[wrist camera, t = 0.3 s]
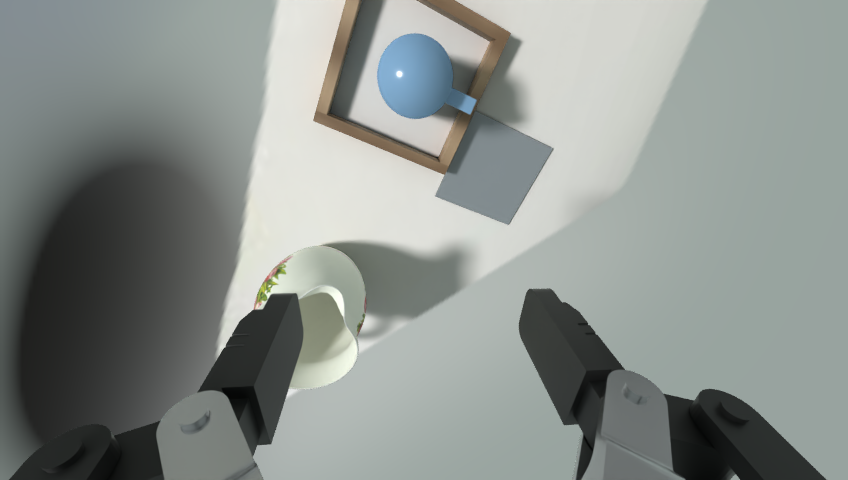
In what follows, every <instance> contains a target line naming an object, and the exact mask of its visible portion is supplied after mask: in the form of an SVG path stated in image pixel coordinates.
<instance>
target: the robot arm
mask: <svg viewBox="0 0 848 480" xmlns="http://www.w3.org/2000/svg"><path fill="white" fill-rule="evenodd" d="M519 332H520V336H521V339H522V341H523V343H524V345H525V347H526V350H527V352H528V353H529V355H530V358H531V359H532V362H533V364H534V366H535V368H536V370H537V371H538V373H539V376H540V378H541V380H542V382H543V384H544V386H545V388H546V389H547V392H548V394H549V396H550V398H551V400H552V402H553V404H554V406H555V408H556V410H557V412H558V414H559V416H560V418H561V420H562V422H563V424H564V425H574V424H579V426H580V428H581V430H582V434H581V436H580V439H579V445H578V451H577V456H576V462H575V468H574V474H573V480H730V479H731V478H732V477H733V476H734V475H735V474H736V475H737V476H738V477H739V478H740V480H826V479H825V478H824V477H823V476H822V475H821V474H820V473H819V472H818V471H817V470H816V469H815V468H814V467H813V466H812V465H811V464H810V463H809V462H808V461H807V460H806V459H805V458H803V456H801V454H799V453H798V452H797V451H796V450H795V449H794V448H793V447H792V446H791V445H790V444H789V443H788V442H787V441H786V440H785V439H784V438H783V437H782V436H781V435H780V434H779V433H778V432H777V431H776V430H775V429H774V428H773V427H772V426H771V425H770V424H769V423H768V422H767V421H766V420H765V419H764V418H763V417H762V416H761V415H760V414H759V413H758V412H756V411H755V410H754V409H753V408H752V407H750V406H749V405H748V404H746V403H745V402H743V401H742V400H740V399H738V398H737V397H735V396H732V395H731V394H728V393H726V392H723V391H719V390H715V389H705V390H702V391H701V392H700V393H699V395H698V396H697V397H696V399H695V400H694V401H693V400H689V399H684V398H680V397H675V396H671V395H666V394H663V393H662V392H661V390H660V389H659V388H658V387H657V386H656V385H655V384H654V383H652V382H651V381H650V380H648V379H647V378H645V377H643V376H642V375H640V374H637V373H635V372H632V371H627V370H625V369H624V368H623V367H622V365H621V364H620V363H619V362H618V361H617V359H616V358H615V357H614V356H613V354H612V353H611V352H610V350H609V349H608V348H607V346H606V345H605V344H604V343H603V342H602V340H601V339H600V338H599V336H598V335H596V334H595V331H594V330H593V329H592V328H591V326H590V325H588V323H587V321H586V320H585V319H584V318H583V316H582V315H581V314H580V312H578V311H577V310H576V309H574V308H573V307H572V306H570V305H569V304H567V303H565V302H563V303H562V302H561V301H560V300H559V298H558V297H557V295H556V294H555V293H554V292H553V290H551V289H529V290H528V291H527V293H526V296H525V301H524V304H523V308H522V313H521V317H520V321H519ZM303 334H304V332H303V323H302V317H301V311H300V305H299V299H298V295H297V294H296V293H273V294H271V295H270V297H269V298H268V300H267V302H266V304H265V306H264V308H263V309H255V310H252V311H251V312H250V313H249V314H248V315H247V316H245V317H244V318H243V319H242V320H241V321H240V322H239V324H238V325H237V327H236V329H235V330H234V332H233V334H232V337H230V339H229V340H228V342H227V344H226V348H224V349H223V350H222V352H221V354H220V356H219V357H218V359H217V361H216V362H215V364H214V366H213V367H212V369H211V371H210V372H209V374H208V376H207V377H206V379H205V381H204V383H203V384H202V386H201V387H200V389H199V391H198V392H197V393H196V394H193V395H191V396H188V397H187V398H185V399H183V400H181V401H180V402H179V403H177V404H176V405H175V406H173V407H172V408H171V409H170V410H169V411H168V412H167V413H166V414H165V415H164V417H163V418H162V420H161V421H158V422H156V423H153V424H150V425H146V426H143V427H140V428H137V429H134V430H131V431H127V432H124V433H121V434H118V435H115V436H113V434H112V433H111V431H110V430H109V429H108V428H107V427H106V426H103V425H99V424H91V425H85V426H81V427H77V428H75V429H72V430H69V431H67V432H65V433H63V434H61V435H59V436H57V437H56V438H54V439H52V440H51V441H49V442H48V443H46V444H45V445H43V446H42V447H41V448H39V449H38V450H37V451H36V452H34V453H33V454H32V455H31V456H30V457H29V458H28V459H27V460H26V461H25V462H24V463H23V465H22V466H21V467H20V468H19V469H18V470H17V471H16V473H15V474H14V475H13V476H12V477H11V478H10V479H9V480H263V477H262V475H261V473H260V470H259V468H258V466H257V464H256V463H255V461H254V459H253V455H254V453H255V450H256V447H257V445H267V444H271V443H272V439H273V436H274V433H275V430H276V427H277V424H278V421H279V417H280V414H281V411H282V408H283V404H284V402H285V398H286V395H287V392H288V389H289V386H290V383H291V379H292V376H293V373H294V370H295V367H296V364H297V360H298V357H299V354H300V351H301V348H302V344H303Z"/></svg>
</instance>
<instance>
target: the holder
mask: <svg viewBox="0 0 848 480" xmlns="http://www.w3.org/2000/svg"><path fill="white" fill-rule="evenodd" d="M417 1H419V2H421V3H422V4H424V5H426V6H428V7H429V8H431V9H433V10H435V11H437V12H438V13H440V14H442V15H444V16H445V17H447V18H449V19H451V20H453V21H454V22H456V23H458V24H460V25H461V26H463V27H465V28H467V29H469V30H470V31H472V32H474V33H476V34H477V35H479V36H481V37H483V38H485V39H486V40H488V41H490V43H489V45H488V48H487V50H486V52H485V54H484V57H483V59H482V61H481V63H480V66H479V68H478V70H477V72H476V75H475V77H474V79H473V81H472V83H471V86H470V88H469V90H468V92H467V95H468V96H470V97H472V98H474V99H476V100H477V101H476V103H475V105H474V107H473V110H472V112H471V114H467V113H465V112H463V111H461V110H459V113H458V115H457V117H456V119H455V122H454V124H453V126H452V128H451V131H450V133H449V135H448V137H447V140H446V142H445V144H444V146H443V148H442V151H441V153H440V155H439V157H438V159H437V158H435V157H432V156H430V155H428V154H425V153H423V152H421V151H418V150H416V149H414V148H411V147H409V146H407V145H404V144H402V143H399V142H397V141H395V140H392V139H390V138H388V137H385V136H383V135H381V134H378V133H376V132H374V131H371V130H369V129H367V128H364V127H362V126H359V125H357V124H355V123H352V122H350V121H348V120H345V119H343V118H341V117H338V116H336V115H334V114H331V113H330V110H331V106H332V103H333V99H334V96H335V92H336V89H337V86H338V82H339V79H340V75H341V72H342V68H343V65H344V61H345V58H346V54H347V51H348V48H349V44H350V41H351V37H352V34H353V30H354V27H355V23H356V20H357V16H358V13H359V10H360V6H361V3H362V0H346V2H345V6H344V9H343V13H342V17H341V20H340V24H339V28H338V31H337V35H336V39H335V42H334V46H333V50H332V53H331V57H330V61H329V64H328V68H327V72H326V75H325V79H324V83H323V86H322V90H321V94H320V97H319V101H318V105H317V108H316V112H315V116H314V120H313V121H315V122H318V123H320V124H322V125H325V126H327V127H330V128H332V129H335V130H337V131H339V132H342V133H344V134H347V135H349V136H352V137H354V138H356V139H359V140H361V141H364V142H366V143H369V144H371V145H373V146H376V147H378V148H381V149H383V150H385V151H388V152H390V153H393V154H395V155H398V156H400V157H402V158H405V159H407V160H410V161H412V162H415V163H417V164H419V165H422V166H424V167H427V168H429V169H432V170H434V171H436V172H439V173H441V174H444V175H445V174H446V171H447V169H448V167H449V165H450V163H451V161H452V158H453V156H454V154H455V152H456V150H457V148H458V146H459V143H460V141H461V139H462V137H463V135H464V133H465V130H466V128H467V126H468V124H469V122H470V120H471V118H472V115H473V113H474V111H475V109H476V107H477V105H478V103H479V100H480V98H481V96H482V94H483V92H484V90H485V87H486V85H487V83H488V81H489V79H490V77H491V75H492V72H493V70H494V68H495V66H496V64H497V62H498V60H499V57H500V55H501V53H502V51H503V49H504V47H505V44H506V42H507V40H508V38H509V36H510V34H511V33H510V32H508V31H506V30H505V29H503V28H501V27H499V26H498V25H496V24H494V23H493V22H491V21H489V20H487V19H486V18H484V17H482V16H481V15H479V14H477V13H475V12H474V11H472V10H470V9H469V8H467V7H465V6H463V5H462V4H460V3H458V2H456V1H455V0H417Z"/></svg>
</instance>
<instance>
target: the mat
mask: <svg viewBox="0 0 848 480" xmlns="http://www.w3.org/2000/svg"><path fill="white" fill-rule="evenodd" d="M552 149H553V148H551V147H549V146H547V145H545V144H543V143H541V142H539V141H537V140H535V139H532V138H530V137H528V136H526V135H524V134H522V133H520V132H518V131H516V130H514V129H512V128H510V127H508V126H506V125H504V124H502V123H500V122H498V121H496V120H493V119H491V118H489V117H487V116H485V115H483V114H481V113H479V112H477V111H474V113H473V116H472V118H471V120H470V122H469V124H468V126H467V129H466V131H465V133H464V135H463V137H462V139H461V141H460V144H459V146H458V148H457V150H456V152H455V154H454V156H453V159H452V161H451V163H450V165H449V167H448V169H447V172H446V174H445V176H444V178H443V180H442V182H441V184H440V187H439V189H438V191H437V193H436V195H435V196H436V197H438V198H441V199H443V200H446V201H448V202H451V203H454V204H456V205H459V206H461V207H464V208H466V209H469V210H472V211H474V212H477V213H479V214H482V215H484V216H487V217H490V218H492V219H495V220H497V221H500V222H503V223H505V224H509V223H510V221H511V219H512V217H513V216H514V214H515V212H516V211H517V209H518V207H519V206H520V204H521V202H522V200H523V199H524V197H525V195H526V194H527V192H528V190H529V188H530V187H531V185H532V183H533V182H534V180H535V178H536V177H537V175H538V173H539V171H540V170H541V168H542V166H543V165H544V163H545V161H546V159H547V158H548V156H549V154H550V153H551V151H552Z"/></svg>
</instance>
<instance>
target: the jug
mask: <svg viewBox="0 0 848 480" xmlns="http://www.w3.org/2000/svg"><path fill="white" fill-rule="evenodd" d="M377 79H378V86H379V90H380V92H381V95H382V97H383V99H384V100H385V102H386V103H387V105H388V106H389V107H390V108H391V109H392V110H393V111H395V112H396V113H397V114H399V115H401V116H404V117H407V118H412V119H420V118H425V117H428V116H430V115H432V114H434V113H435V112H437V111H438V110H439V109H440V108H441V107H442V106H443V105H444V103H446V104H448V105H450V106H452V107H454V108H457V109H459V110H461V111H463V112H465V113H467V114H471V112H472V110H473V107H474V105H475V103H476V101H477V100H476V99H474V98H472V97H470V96H468V95H466V94H464V93H462V92H460V91H458V90H456V89H454V88H452V83H453V70H452V65H451V61H450V59H449V56H448V55H447V53H446V51H445V50H444V48H443V47H442V46H441V45H440V44H439V43H438V42H437V41H436V40H434V39H432V38H431V37H429V36H426V35H423V34H407V35H404V36H401V37H399V38H397V39H395V40H394V41H393V42H392V43H391V44H390V45H389V46H388V47H387V48H386V49H385V51H384V53H383V54H382V56H381V59H380V62H379V65H378V72H377Z"/></svg>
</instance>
